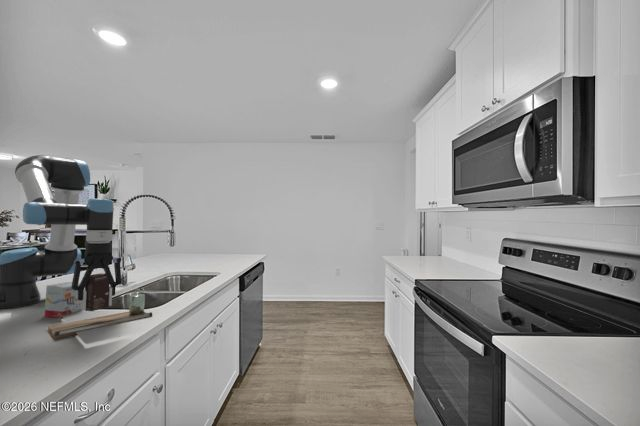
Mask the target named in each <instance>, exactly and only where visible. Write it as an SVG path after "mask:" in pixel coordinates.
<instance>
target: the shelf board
mask: <svg viewBox="0 0 640 426" xmlns="http://www.w3.org/2000/svg"><path fill="white" fill-rule="evenodd" d="M150 317H153V312H146V311H144V314H140V315H135V316H131V315H129V311H124V312H120V313H114V314H108V315H103V316H98V317H97V316H96V317H92V318H87V319H82V320H81V319H80V320H76V321H71V322H65V323H60V324H55V325H49V326H48V329H47V330H48V332H49V333H50V335H51V337H52V338H53V339H54V341H56V340H61V339H66V338H71V337H75V336H79V335H78V333H77V332H83V331H87V330H92V329H97V328H101V327H106V326H112V325H116V324H121V323H124V322H125V323H127V322H130V321H136V320H141V319H145V318H150Z"/></svg>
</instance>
